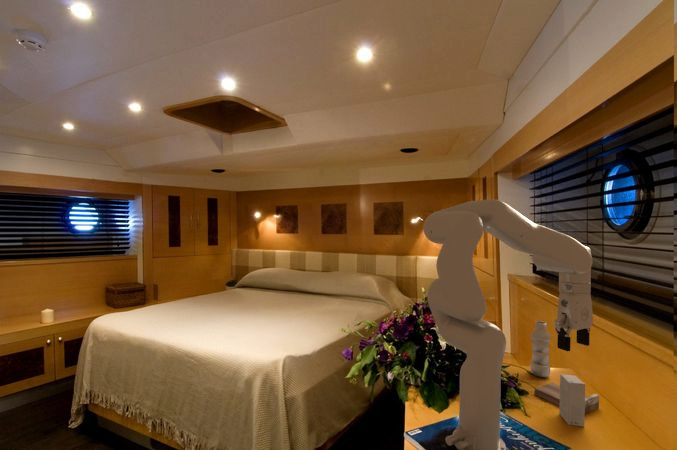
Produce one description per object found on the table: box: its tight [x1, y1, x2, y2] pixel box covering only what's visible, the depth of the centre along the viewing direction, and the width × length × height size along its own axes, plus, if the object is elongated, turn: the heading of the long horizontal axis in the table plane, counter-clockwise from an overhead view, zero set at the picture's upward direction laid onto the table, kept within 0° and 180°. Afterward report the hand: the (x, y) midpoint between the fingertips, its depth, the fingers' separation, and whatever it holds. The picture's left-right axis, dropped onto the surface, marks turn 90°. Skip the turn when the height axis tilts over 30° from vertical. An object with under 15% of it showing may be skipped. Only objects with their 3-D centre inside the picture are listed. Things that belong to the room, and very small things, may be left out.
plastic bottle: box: [529, 320, 552, 378], centre depth 127 cm, size 6×7×20 cm
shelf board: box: [534, 382, 600, 415], centre depth 108 cm, size 10×14×4 cm
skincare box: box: [558, 373, 586, 427], centre depth 98 cm, size 6×4×12 cm
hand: (573, 346), depth 98 cm, fingers open, 9 cm apart
